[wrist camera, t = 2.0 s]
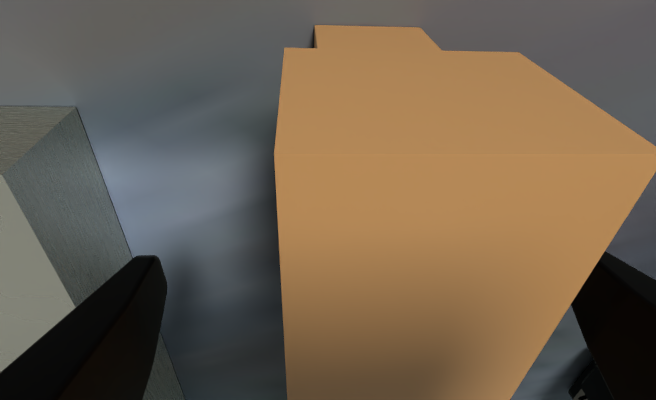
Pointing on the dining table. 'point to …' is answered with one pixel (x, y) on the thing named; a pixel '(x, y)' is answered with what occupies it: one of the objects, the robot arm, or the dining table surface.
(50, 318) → the rail
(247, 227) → the dining table surface
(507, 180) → the tan stepped block
